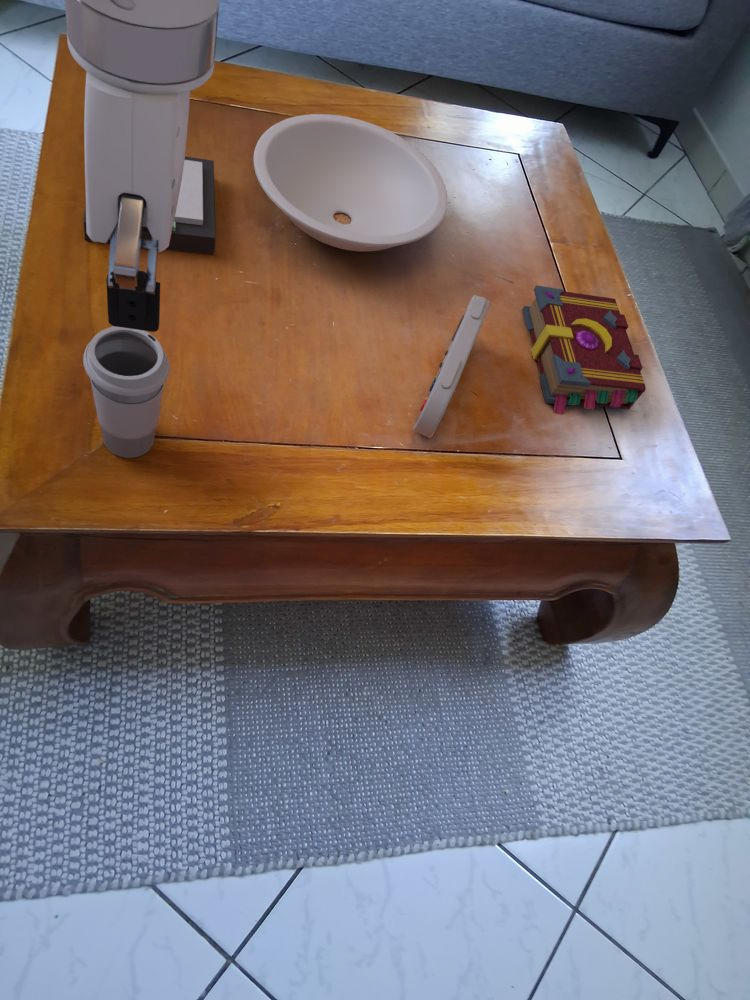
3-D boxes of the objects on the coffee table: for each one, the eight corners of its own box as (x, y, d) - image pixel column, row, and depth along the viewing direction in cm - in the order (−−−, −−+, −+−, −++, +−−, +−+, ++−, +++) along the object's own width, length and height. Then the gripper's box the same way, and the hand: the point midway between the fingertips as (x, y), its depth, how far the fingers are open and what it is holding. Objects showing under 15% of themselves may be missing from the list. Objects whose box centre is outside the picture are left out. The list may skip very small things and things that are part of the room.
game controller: (454, 330, 92) (479, 277, 85) (471, 338, 92) (497, 286, 85) (404, 443, 80) (428, 393, 74) (424, 452, 80) (449, 403, 74)
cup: (181, 443, 73) (187, 359, 64) (126, 481, 70) (123, 398, 60) (131, 397, 75) (129, 309, 65) (74, 432, 71) (63, 343, 61)
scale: (213, 255, 88) (216, 232, 85) (84, 240, 84) (82, 216, 81) (212, 178, 95) (214, 154, 92) (93, 161, 91) (91, 136, 89)
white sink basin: (216, 236, 90) (220, 188, 84) (287, 136, 104) (295, 89, 98) (403, 314, 91) (420, 272, 85) (450, 205, 105) (466, 163, 99)
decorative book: (600, 322, 99) (619, 294, 95) (631, 420, 91) (654, 394, 87) (520, 311, 97) (537, 281, 92) (545, 412, 88) (565, 384, 84)
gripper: (92, -70, 43) (104, 188, 57) (33, 104, 34) (65, 360, 48) (225, -35, 45) (206, 206, 59) (203, 139, 36) (186, 376, 50)
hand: (142, 275), depth 54 cm, fingers open, 9 cm apart
